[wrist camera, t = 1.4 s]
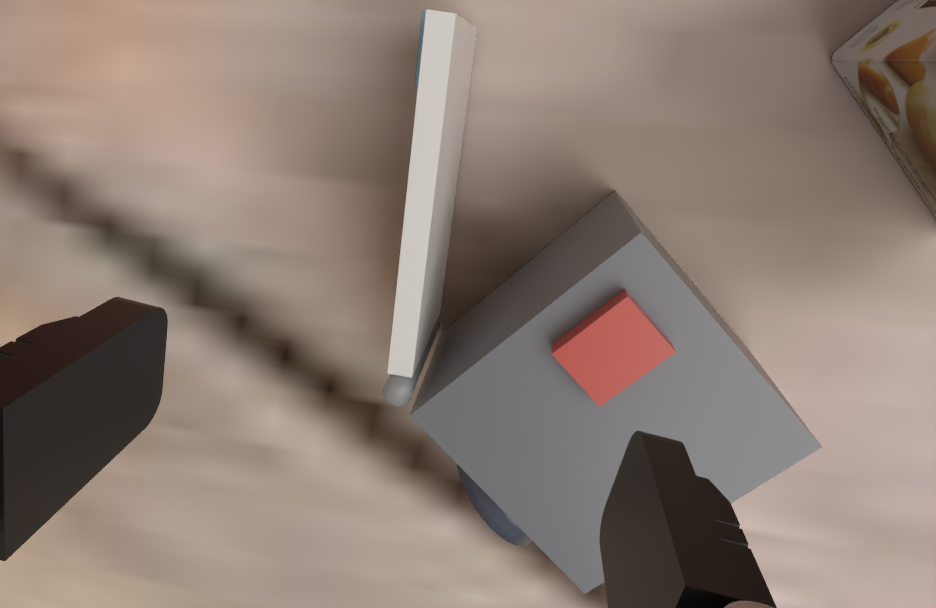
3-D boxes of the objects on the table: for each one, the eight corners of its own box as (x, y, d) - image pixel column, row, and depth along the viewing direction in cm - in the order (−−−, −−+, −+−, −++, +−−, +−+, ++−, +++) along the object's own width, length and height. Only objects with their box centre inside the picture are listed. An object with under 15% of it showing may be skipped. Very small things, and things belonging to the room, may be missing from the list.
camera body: (751, 353, 30) (831, 460, 22) (552, 490, 33) (556, 627, 25) (615, 190, 28) (645, 238, 20) (419, 351, 32) (376, 449, 23)
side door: (478, 25, 27) (457, 9, 20) (438, 334, 31) (409, 407, 24) (441, 20, 27) (407, 2, 20) (406, 329, 31) (368, 400, 24)
